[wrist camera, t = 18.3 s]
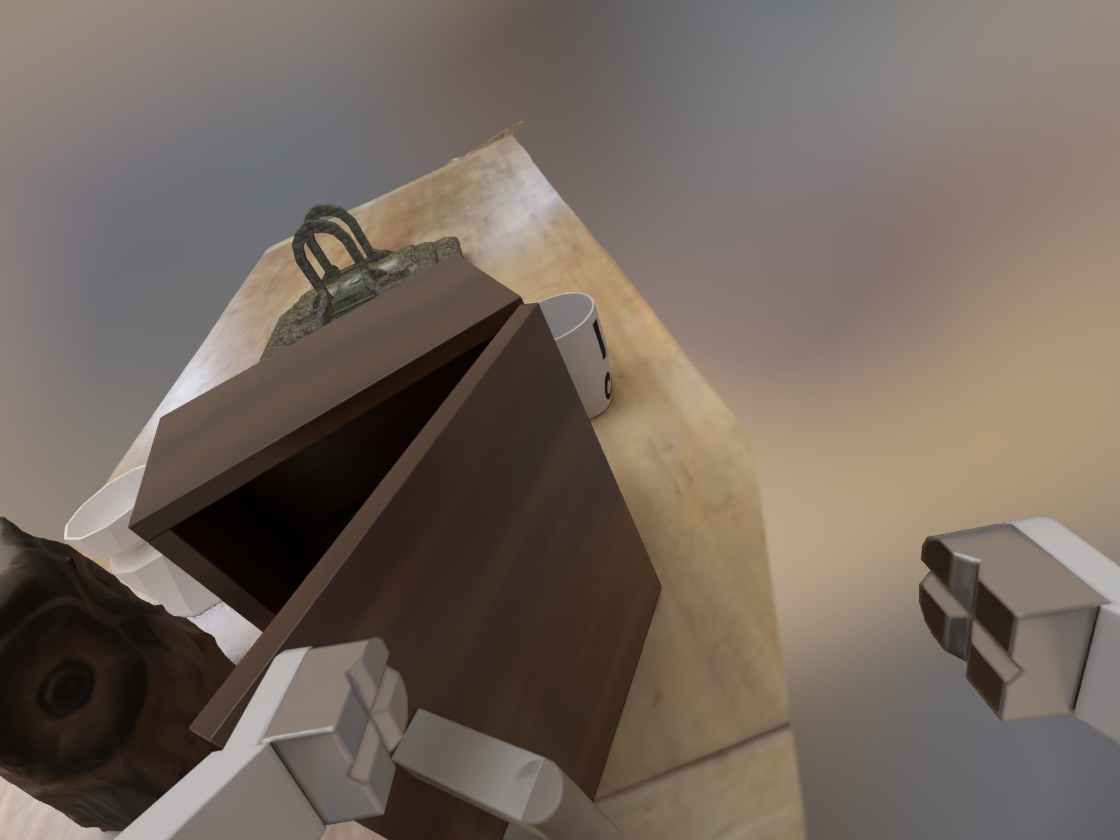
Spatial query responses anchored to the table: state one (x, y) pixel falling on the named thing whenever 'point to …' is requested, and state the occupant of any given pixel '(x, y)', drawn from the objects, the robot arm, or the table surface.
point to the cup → (581, 347)
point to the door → (486, 606)
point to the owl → (95, 685)
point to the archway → (347, 275)
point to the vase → (134, 548)
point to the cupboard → (309, 436)
